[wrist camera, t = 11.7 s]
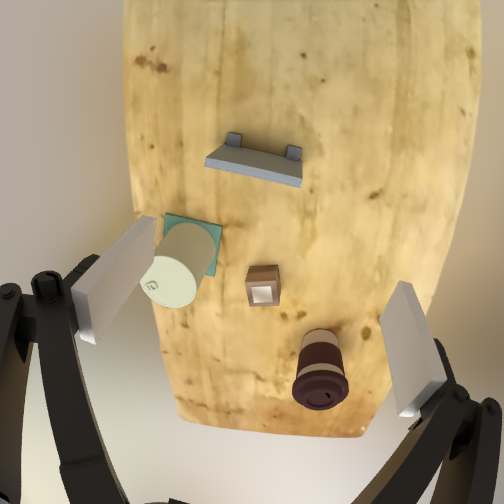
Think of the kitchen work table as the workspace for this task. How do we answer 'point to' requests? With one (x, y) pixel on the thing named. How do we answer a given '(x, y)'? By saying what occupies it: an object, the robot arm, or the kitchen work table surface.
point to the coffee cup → (320, 372)
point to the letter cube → (263, 285)
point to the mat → (211, 228)
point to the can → (179, 265)
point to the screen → (257, 162)
